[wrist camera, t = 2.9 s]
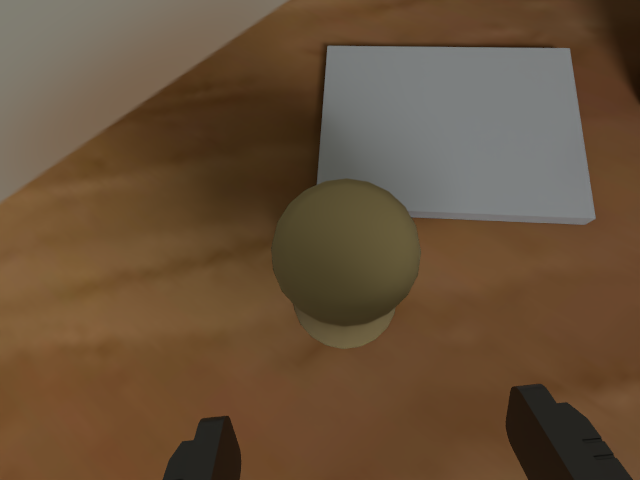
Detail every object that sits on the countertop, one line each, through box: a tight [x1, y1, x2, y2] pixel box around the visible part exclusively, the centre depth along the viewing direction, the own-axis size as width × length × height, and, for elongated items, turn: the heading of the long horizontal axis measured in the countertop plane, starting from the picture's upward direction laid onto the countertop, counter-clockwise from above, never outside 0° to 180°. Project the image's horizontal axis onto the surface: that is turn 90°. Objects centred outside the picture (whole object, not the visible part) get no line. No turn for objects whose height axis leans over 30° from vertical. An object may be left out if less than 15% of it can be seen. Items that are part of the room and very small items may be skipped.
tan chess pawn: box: [271, 178, 421, 349], centre depth 17 cm, size 6×6×11 cm
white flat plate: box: [317, 46, 596, 225], centre depth 25 cm, size 16×12×1 cm
